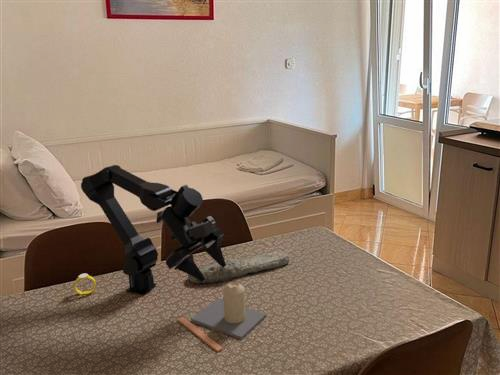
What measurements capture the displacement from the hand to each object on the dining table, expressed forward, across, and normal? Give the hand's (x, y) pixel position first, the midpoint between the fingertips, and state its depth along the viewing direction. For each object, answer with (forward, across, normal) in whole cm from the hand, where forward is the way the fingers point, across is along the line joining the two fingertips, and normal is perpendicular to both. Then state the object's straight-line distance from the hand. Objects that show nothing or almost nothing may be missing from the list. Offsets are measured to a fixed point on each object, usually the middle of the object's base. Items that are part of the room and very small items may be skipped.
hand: (214, 273), depth 125 cm
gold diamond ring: (-19, -10, +38) cm, 44 cm away
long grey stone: (+3, +25, +15) cm, 30 cm away
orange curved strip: (+10, -10, +8) cm, 16 cm away
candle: (+12, 0, +4) cm, 13 cm away
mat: (+12, 0, +6) cm, 13 cm away
